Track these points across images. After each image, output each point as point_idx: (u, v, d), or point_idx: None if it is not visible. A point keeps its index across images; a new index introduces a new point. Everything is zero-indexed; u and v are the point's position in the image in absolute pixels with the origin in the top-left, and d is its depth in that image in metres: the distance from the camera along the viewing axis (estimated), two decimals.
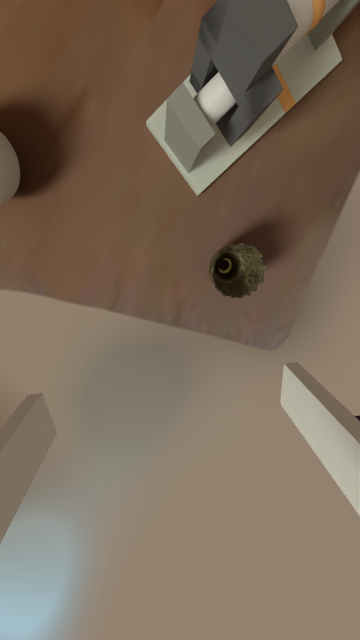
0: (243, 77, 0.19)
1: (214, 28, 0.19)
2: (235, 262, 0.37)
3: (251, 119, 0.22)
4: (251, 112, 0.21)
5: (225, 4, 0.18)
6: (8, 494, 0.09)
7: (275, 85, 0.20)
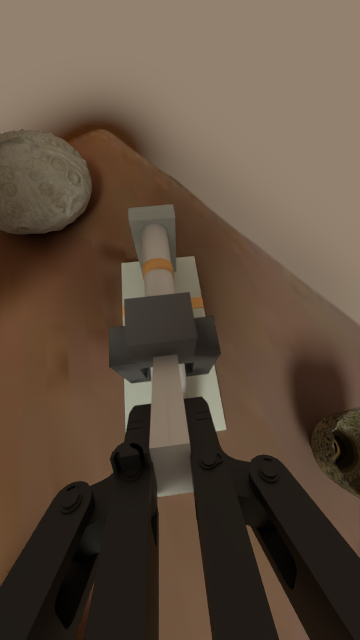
0: (183, 353, 0.16)
1: (125, 358, 0.16)
2: (333, 432, 0.25)
3: (217, 356, 0.18)
4: (213, 355, 0.17)
5: (116, 339, 0.17)
6: None
7: (205, 321, 0.18)
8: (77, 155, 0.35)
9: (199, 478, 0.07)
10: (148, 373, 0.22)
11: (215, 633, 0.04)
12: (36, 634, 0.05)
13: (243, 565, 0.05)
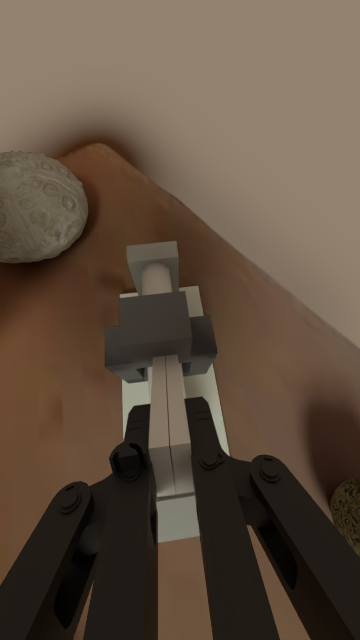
0: (179, 353, 0.15)
1: (120, 358, 0.16)
2: None
3: (214, 356, 0.17)
4: (210, 355, 0.17)
5: (112, 338, 0.17)
6: None
7: (202, 321, 0.17)
8: (72, 178, 0.33)
9: (200, 478, 0.07)
10: (145, 373, 0.22)
11: (216, 633, 0.04)
12: (35, 634, 0.05)
13: (244, 565, 0.05)
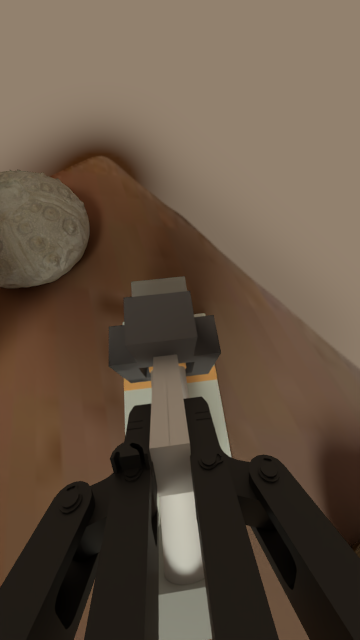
0: (183, 353, 0.15)
1: (124, 357, 0.16)
2: None
3: (217, 356, 0.17)
4: (213, 355, 0.17)
5: (116, 338, 0.17)
6: None
7: (205, 321, 0.17)
8: (73, 198, 0.31)
9: (199, 478, 0.07)
10: (148, 373, 0.22)
11: (215, 633, 0.04)
12: (36, 634, 0.05)
13: (243, 565, 0.05)
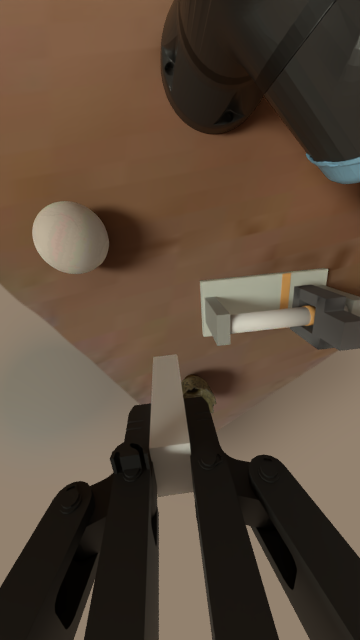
0: (325, 336, 0.33)
1: (327, 306, 0.32)
2: None
3: (314, 345, 0.36)
4: (316, 345, 0.35)
5: (338, 301, 0.32)
6: None
7: None
8: None
9: (199, 478, 0.07)
10: (301, 300, 0.38)
11: (215, 633, 0.04)
12: (36, 634, 0.05)
13: (243, 565, 0.05)
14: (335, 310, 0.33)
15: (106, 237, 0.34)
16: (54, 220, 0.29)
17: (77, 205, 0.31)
